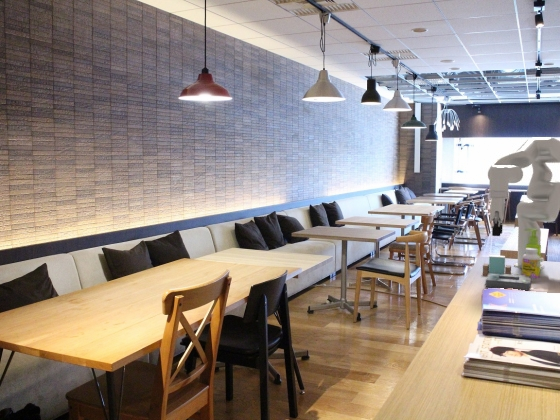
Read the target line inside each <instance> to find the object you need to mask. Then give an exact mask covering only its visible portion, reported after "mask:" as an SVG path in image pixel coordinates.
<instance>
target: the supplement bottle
mask: <svg viewBox="0 0 560 420" xmlns="http://www.w3.org/2000/svg"><path fill="white" fill-rule="evenodd" d="M525 251H526V254H524V255H523V262H522V268H521V275H523V276H531V279H538V278H540V273H539V267H540V264H541V262H540V257H539V255H537V252H538V249H535V248H526V249H525Z"/></svg>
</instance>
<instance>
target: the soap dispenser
mask: <svg viewBox="0 0 560 420" xmlns="http://www.w3.org/2000/svg"><path fill="white" fill-rule="evenodd" d="M524 231H532V236H531V237H530V238H529V244H526V248H535V249H538V252H537V255H539V257H540V259H541V258H542V256H541V254H542V253H541V252H542V246H541V244H540V245H539V244H538V237H537V236H536V231H538V230H536V229H526V230H524ZM539 274H541V269H540V267H539Z"/></svg>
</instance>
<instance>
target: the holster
mask: <svg viewBox="0 0 560 420" xmlns="http://www.w3.org/2000/svg"><path fill="white" fill-rule="evenodd" d="M505 274H510V275H514V273H513V272H512V265H510V264H505ZM488 275H489V263H483V265H482V272H481V274H480V276H481V277H488Z"/></svg>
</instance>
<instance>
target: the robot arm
mask: <svg viewBox="0 0 560 420" xmlns="http://www.w3.org/2000/svg"><path fill="white" fill-rule="evenodd" d="M547 163H549V164H553V163H554V164H555V163H556V164H559V163H560V140H558V139H557V138H555V137H551V136H550V137H547V136H546V137H531V138H528V139H527V140H526V141H525V142H523V144H522V145H521V146H520V147H519V148H518V149H517V150H516V151H514V152H512V153H509V154H507V155H505V156H502V157H501V158H499V159H497V160H496V161H495V162H493V163H492V164H491V166H490V167H489V168H488V171H487V178H488V180H489V189H488V190H489V191H488V192H489V193H488V198H489V199H491V200H490V211H489V213H490V214H489V215H490V216H489V222H492V227H491V228H492V229H491V236H492V237H500V236H501V234H503V227H504V226H503V221H504V218H505V209H506V208H505V205H506V204H505V203H506V199H509V184H516V183H518V182H520V181H522V179H523V178H524V177H523V176H524V171H523V169H525V168H528V167H529V166H530V165H531V166H532V167H531V168H532V175H531V178H530V180H529V183H528V187H527V190H526V197H527V198H528V199H527V200H524V199H523V200H521V201H520V202H519V203H518V204H517V206H516V216H517V222H518V227H517V228H518V229H517V230H518V233H517V234H518V235H517V262H515V263H514V264H513V267H514V268H521V269H522V262H523V255H524V254H526V251H525V249H526V244H529V238H530V237H531V236H532V231H524V230H526V229H536V230H538V231H536V236H537V237H538V244H539V245H541V240H542V239H541V236H542V230H541V227H540V225H539V224H538V222H542V223H543V222H544V223H545V222H546V223H552V222H554V221H556V220H557V218H558V216H559V212H560V181H556V180H555V181H554V180H552V179H553V171H552V170H551V169H550V167H549V166H548V165H547ZM543 262H545V258H544V257H541V259H540V270H543V269H544V265H543V264H541V263H543Z"/></svg>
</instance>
